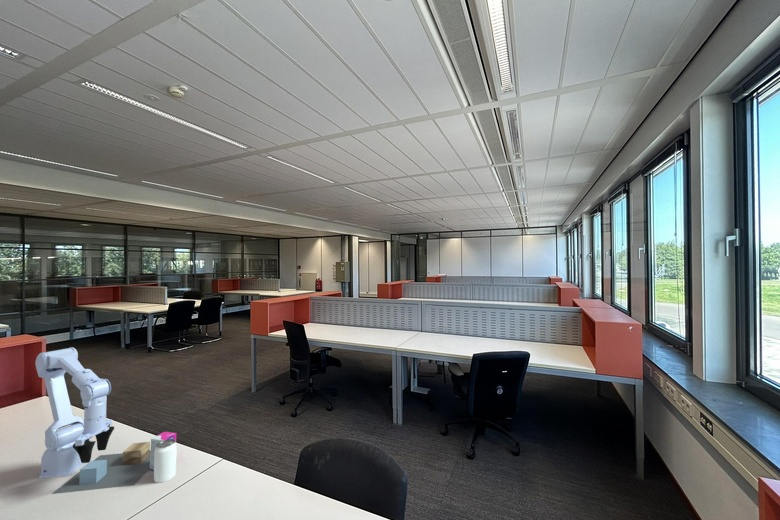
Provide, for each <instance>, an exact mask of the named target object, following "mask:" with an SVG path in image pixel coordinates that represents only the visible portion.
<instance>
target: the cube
mask: <svg viewBox="0 0 780 520" xmlns="http://www.w3.org/2000/svg"><path fill="white" fill-rule="evenodd" d="M79 472H80V481H79V485H82V484H92V483H97V482H98V481H99V480H100V479H101V478H102V477H104V476H105V475H106V473H107V460H97V461H94V460H90V462H89V463H86V464H84V465H83V467H81V468H80V469H79Z"/></svg>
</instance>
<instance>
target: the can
mask: <svg viewBox="0 0 780 520" xmlns="http://www.w3.org/2000/svg"><path fill="white" fill-rule="evenodd" d="M177 445H178V444H177V442H176V443H175V440H174V439H167V440H163V441H161V442H159V443H158V444H157V445H156V448H155V451H154V470H153V482H154V483H164V482H167V481H170V480H172V479H173V478H174V477H175V476H176V474H177V452H178V451H177V448H178V447H177Z"/></svg>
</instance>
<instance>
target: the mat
mask: <svg viewBox="0 0 780 520" xmlns="http://www.w3.org/2000/svg"><path fill="white" fill-rule="evenodd" d="M97 460H107V473H106V475H105V476H104V477H102V478H101V479H100V480H99V481H98V482H97V483H92V484H82V485H79V481H80V471H78V472H77V473H76V474H74V475H73V476H72V477H71V478H69V479H68V480H67V481H65V482H64V483H63V484H62V485H61V486H60V487H58V488H57V489H55V490H54V491H53V492H52V493H51V495H54V494H55V495H56V494H65V493H74V492H84V491H92V490H103V489H111V488H121V487H130V486H135V485H136V484H137V483H138V482H139V481H140V480H141V478H142V477H143V476H145V474H147V472H148V471H149V470H150V455H149V456H148V457H147V458H146V459H145V460H144V461H143V462H142V463H141V464H133V465H123V452H122V453H113V454H111V453H110V454H100V455H99V456H97V457H96V458H95V459H93V461H97Z"/></svg>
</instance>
